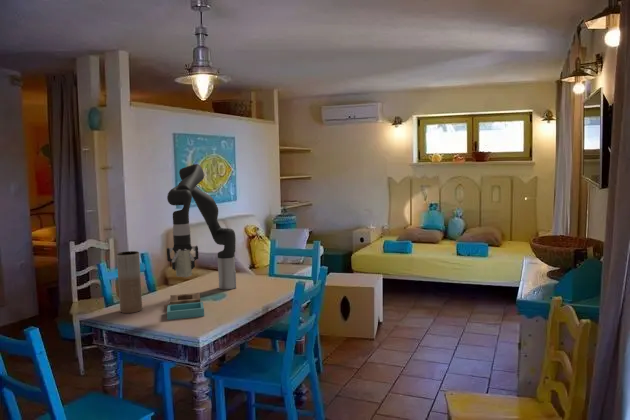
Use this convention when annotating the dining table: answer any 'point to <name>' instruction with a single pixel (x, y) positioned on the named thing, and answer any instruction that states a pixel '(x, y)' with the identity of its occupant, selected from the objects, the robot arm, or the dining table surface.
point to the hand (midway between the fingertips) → (183, 269)
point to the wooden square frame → (184, 298)
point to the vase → (129, 282)
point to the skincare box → (183, 264)
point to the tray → (185, 310)
